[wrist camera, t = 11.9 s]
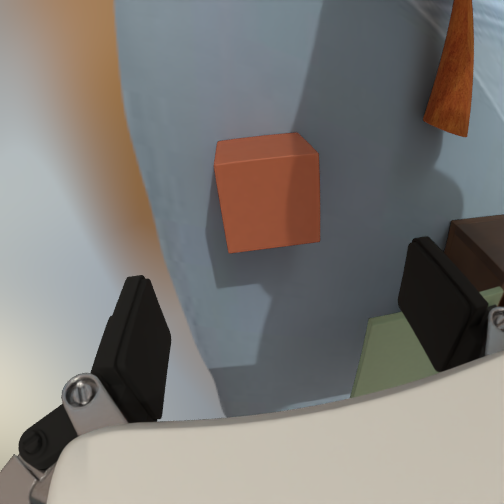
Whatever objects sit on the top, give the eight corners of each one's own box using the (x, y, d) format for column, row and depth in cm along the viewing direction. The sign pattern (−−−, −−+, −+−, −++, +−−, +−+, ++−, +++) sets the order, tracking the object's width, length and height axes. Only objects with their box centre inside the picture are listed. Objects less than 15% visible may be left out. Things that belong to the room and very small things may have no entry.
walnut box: (451, 220, 23) (514, 283, 15) (521, 212, 23) (576, 260, 15) (419, 331, 30) (452, 394, 23) (486, 311, 30) (521, 362, 23)
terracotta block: (217, 141, 18) (213, 164, 14) (297, 132, 18) (319, 152, 14) (228, 213, 21) (228, 254, 17) (302, 204, 21) (320, 242, 17)
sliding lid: (368, 317, 16) (386, 359, 14) (499, 285, 16) (522, 313, 14) (344, 415, 23) (352, 445, 20) (448, 385, 23) (460, 409, 20)
